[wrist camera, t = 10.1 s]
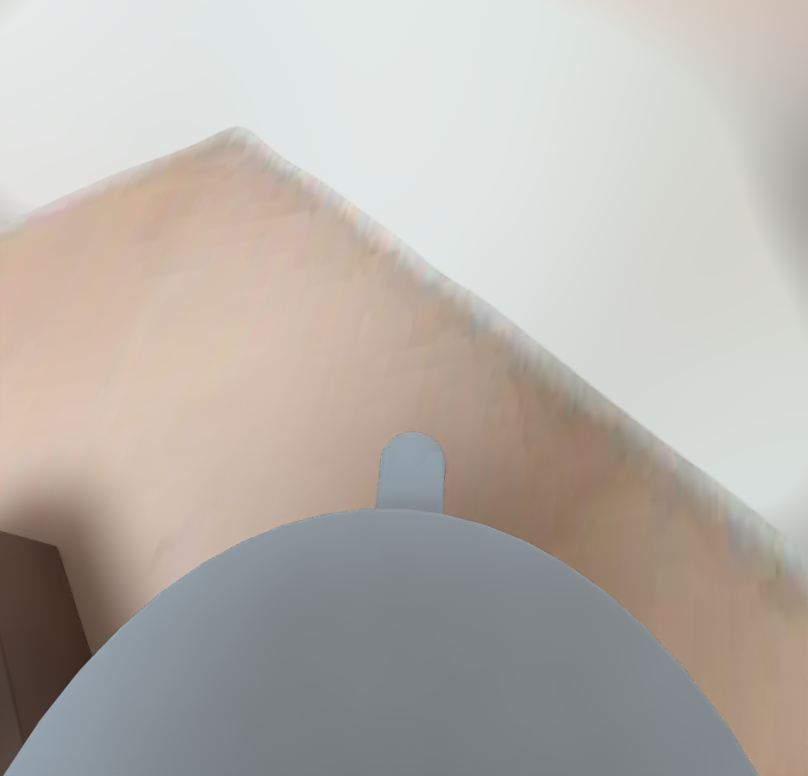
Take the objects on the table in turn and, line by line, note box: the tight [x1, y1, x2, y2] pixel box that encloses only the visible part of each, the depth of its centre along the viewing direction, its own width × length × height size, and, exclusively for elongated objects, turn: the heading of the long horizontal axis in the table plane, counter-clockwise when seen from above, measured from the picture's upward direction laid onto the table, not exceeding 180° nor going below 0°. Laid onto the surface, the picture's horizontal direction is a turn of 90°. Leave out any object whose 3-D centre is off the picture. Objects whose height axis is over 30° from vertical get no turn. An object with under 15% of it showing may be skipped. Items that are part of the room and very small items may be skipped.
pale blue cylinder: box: [4, 432, 759, 776], centre depth 8 cm, size 8×6×11 cm
